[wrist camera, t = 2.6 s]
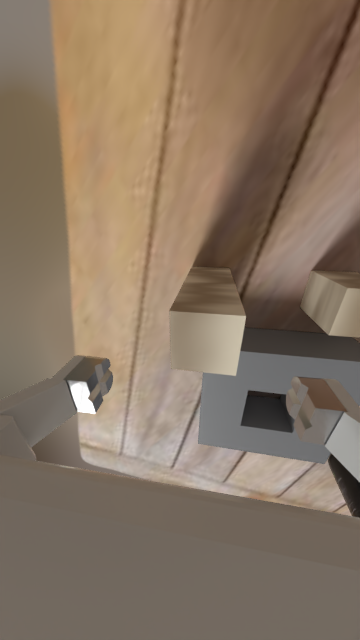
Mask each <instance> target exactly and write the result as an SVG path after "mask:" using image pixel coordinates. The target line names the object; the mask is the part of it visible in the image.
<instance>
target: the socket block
mask: <svg viewBox="0 0 360 640" xmlns="http://www.w3.org/2000/svg"><path fill="white" fill-rule="evenodd" d="M294 376H298V377H309V378H320V379H321V378H324V379H335V380H337V381H339V382H340V384H341V385H342V386H343V387H344V389H345V390H346V391H347V392H348V393H349V395H350V396H351V397H352V398H353V400H354V401H355V402H356V403H357V404H358V406H360V343H359V342H357V341H356V340H355V339H354V338H353V337H345V336H332V335H328V334H324V333H311V332H297V331H284V330H270V329H257V328H244V332H243V338H242V344H241V349H240V355H239V361H238V367H237V373H236V376H232V375H223V374H214V373H205V372H203V379H202V393H201V407H200V422H199V436H198V444H203V445H210V446H216V447H222V448H228V449H234V450H241V451H247V452H253V453H259V454H266V455H272V456H278V457H284V458H290V459H297V460H303V461H309V462H315V463H321V464H325V462H326V460H327V459H328V457H329V456H330V454H331V452H330V451H329V450H328V449H327V448H326V447H325V445H321V444H315V443H309V442H302V441H300V439H299V437H298V434H297V432H296V430H295V427H294V422H295V419H294V418H293V417H291V416H290V415H289V413H288V410H287V406H286V395H287V392H288V391H289V390H290V389H292V385H291V380H292V378H293V377H294ZM248 390H252V391H260V392H269V393H277V394H281V397H280V399H275V398H267V397H259V396H250V395H247V393H248Z"/></svg>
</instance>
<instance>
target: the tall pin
mask: <svg viewBox="0 0 360 640" xmlns="http://www.w3.org/2000/svg"><path fill="white" fill-rule="evenodd" d="M169 317H170V354H171V369H177V370H186V371H195V372H205V373H214V374H223V375H232V376H236V373H237V367H238V361H239V355H240V349H241V344H242V338H243V332H244V326H245V320H246V314H245V311H244V308H243V305H242V302H241V300H240V297H239V294H238V291H237V288H236V285H235V282H234V279H233V276H232V274H231V271H230V268H217V267H192V268H191V270H190V272H189V274H188V275H187V277H186V279H185V281H184V283H183V285H182V287H181V289H180V291H179V293H178V295H177V297H176V299H175V301H174V303H173V305H172V307H171V309H170V311H169Z"/></svg>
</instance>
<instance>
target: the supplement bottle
mask: <svg viewBox="0 0 360 640" xmlns="http://www.w3.org/2000/svg"><path fill="white" fill-rule="evenodd" d="M328 463H329V466H330V469H331V471H332V473H333V475H334V478H335V480H336V482H337V484H338V486H339V489H340V491H341V493H342V495H343V497H344V499H345V502H346V504H347V506H348V508H349V510H350V513H351V515H352V516H353V517H359V518H360V482H359V481H358V480H357V479H356V478H355V477H354V476H353V475H352V474H351V473H350V472H349V471H348V470H347V469H346V468H345V467H344V466H343V465H342V464H341V463H340V461H339V460H338V459H337V458H336V457H335V456H334V455H333V454H331V455H330V456H329V459H328Z"/></svg>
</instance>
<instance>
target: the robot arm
mask: <svg viewBox="0 0 360 640" xmlns="http://www.w3.org/2000/svg"><path fill="white" fill-rule="evenodd" d="M109 367H110V361H109V359H107V358H100V357H91V356H81V355H77V356H74V357H73V358H72V359H71V360H70V361H69V362H68V363H67V364H66V365H65V366H64V367H63V368H62V369H61V370H60V371H58V372H57V373H56V374H55V375H54V376H53V377H52V378H51V379H48V378H47V379H46V380H43V381H41V382H39V383H36V384H34V385H32V386H30V387H28V388H25V389H23V390H21V391H19V392H17V393H15V394H12V395H10V396H8V397H5V398H3V399H1V400H0V640H360V518H359V517H353V516H347V515H342V514H336V513H330V512H325V511H319V510H313V509H308V508H302V507H296V506H291V505H285V504H279V503H274V502H268V501H262V500H257V499H251V498H245V497H240V496H234V495H228V494H223V493H217V492H211V491H206V490H200V489H194V488H189V487H183V486H177V485H171V484H166V483H160V482H154V481H149V480H143V479H137V478H131V477H126V476H120V475H114V474H109V473H103V472H97V471H91V470H86V469H80V468H74V467H69V466H63V465H57V464H51V463H45V462H40V461H35V460H36V455H35V454H34V452H33V450H32V449H31V447H32V446H34V445H35V444H36V443H37V442H39V441H40V440H41V439H43V438H44V437H45V436H47V435H48V434H49V433H51V432H52V431H53V430H55V429H56V428H57V427H59V426H60V425H61V424H62V423H64V422H65V421H66V420H68V419H69V418H71V417H72V416H73V415H75V414H76V413H77V412H85V413H96V412H97V410H98V408H99V407H100V405H101V403H102V402H103V398H102V396H104V395H105V394H107V393H108V392H109V390H110V388H111V386H112V382H113V375H112V372H111V371H110V370H109V369H108V368H109ZM291 385H292V389H290V390H289V391H288V392H287V395H286V406H287V410H288V413H289V415H290V416H291V417H293V418H294V419H295V422H294V427H295V430H296V432H297V434H298V437H299V439H300V441H302V442H309V443H315V444H321V445H325V447H326V448H327V449H328V450H329V451H330V452H331V453H332V454H333V455H334V456H335V457H336V458H337V459H338V460H339V461H340V463H341V464H342V465H343V466H344V467H345V468H346V469H347V470H348V471H349V472H350V473H351V474H352V475H353V476H354V477H355V478H356V479H357V480H358V481H359V482H360V407H359V406H358V404H357V403H356V402H355V401H354V400H353V398H352V397H351V396H350V395H349V393H348V392H347V391H346V390H345V389H344V387H343V386H342V385H341V384H340V382H339V381H337V380H335V379H324V378H321V379H320V378H309V377H298V376H294V377H293V378H292V380H291Z"/></svg>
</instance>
